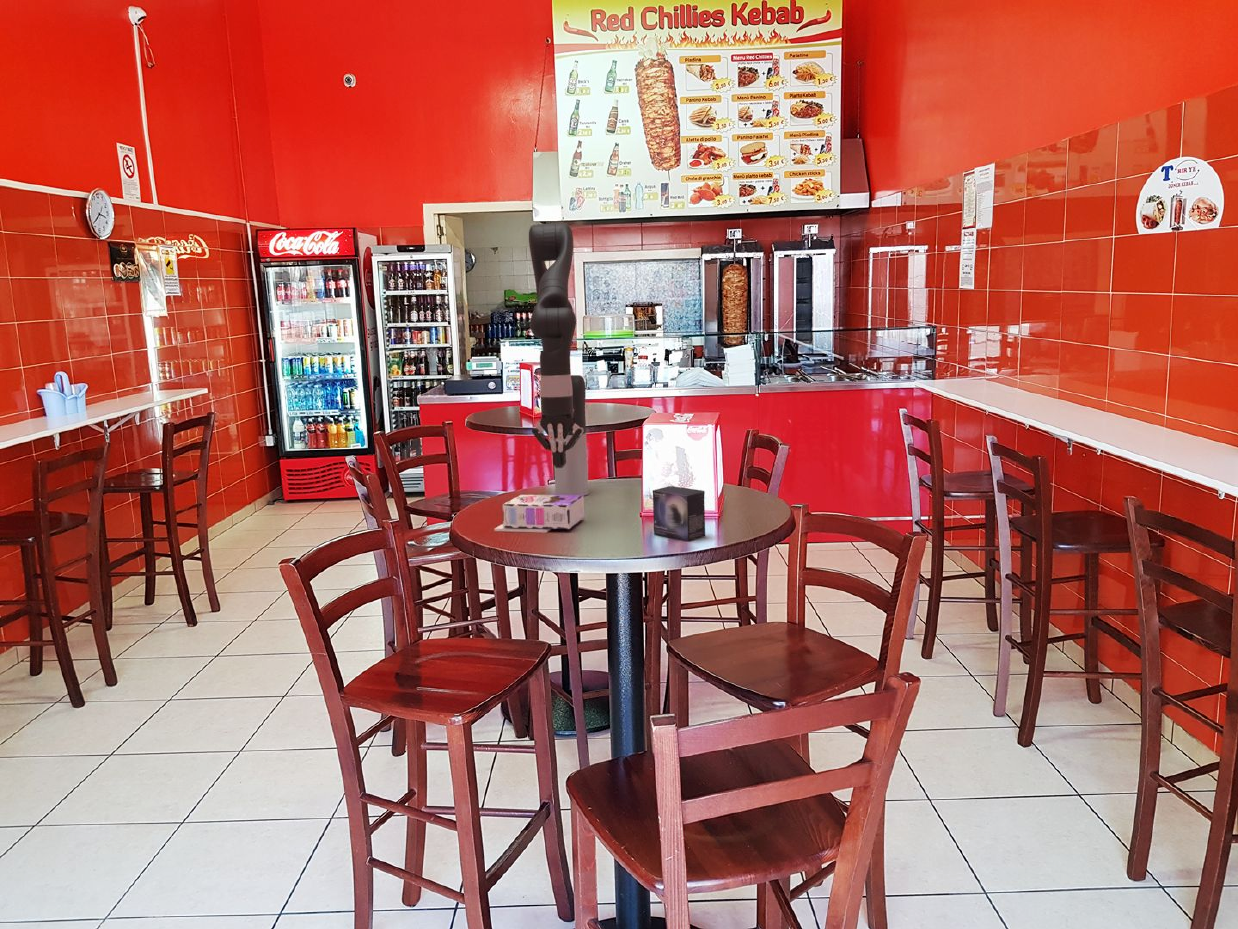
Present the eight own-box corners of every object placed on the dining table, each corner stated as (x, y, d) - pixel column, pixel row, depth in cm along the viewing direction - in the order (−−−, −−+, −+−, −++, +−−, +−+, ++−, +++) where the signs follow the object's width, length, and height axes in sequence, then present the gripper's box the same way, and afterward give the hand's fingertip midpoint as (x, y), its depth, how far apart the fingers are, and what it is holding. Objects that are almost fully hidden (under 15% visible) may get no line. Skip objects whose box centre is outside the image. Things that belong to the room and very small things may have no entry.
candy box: (569, 504, 220) (501, 504, 223) (570, 529, 221) (502, 528, 224) (584, 493, 233) (519, 493, 237) (585, 517, 234) (520, 516, 238)
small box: (651, 535, 216) (650, 489, 214) (671, 530, 220) (670, 485, 219) (687, 542, 208) (686, 494, 207) (706, 536, 213) (705, 490, 211)
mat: (519, 516, 240) (519, 514, 240) (568, 518, 237) (568, 515, 237) (494, 531, 225) (494, 528, 225) (546, 532, 222) (546, 530, 222)
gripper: (588, 392, 226) (590, 465, 229) (535, 393, 230) (538, 464, 232) (578, 395, 219) (581, 470, 222) (524, 396, 223) (527, 469, 225)
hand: (559, 467), depth 227 cm, fingers closed
